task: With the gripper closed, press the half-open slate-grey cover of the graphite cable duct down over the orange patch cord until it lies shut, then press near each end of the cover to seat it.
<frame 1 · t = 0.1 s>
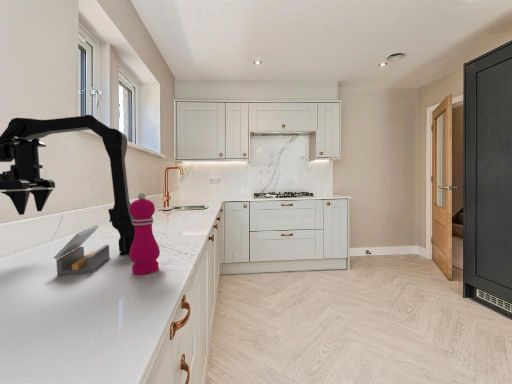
hand: (30, 212, 84), 15 cm above the table, fingers open, 9 cm apart
cable duct: (86, 265, 77), on the table
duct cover: (78, 240, 76), point 7 cm above the table, hinge at 45.0°
pepper mill: (145, 271, 70), on the table
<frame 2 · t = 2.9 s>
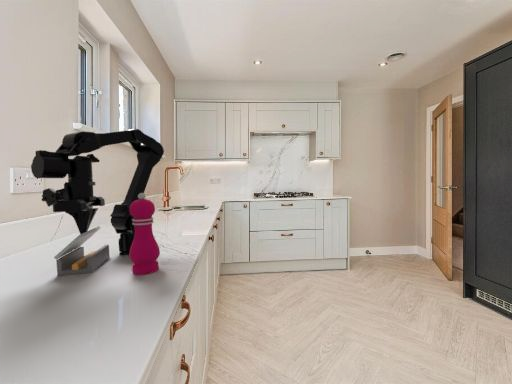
hand: (83, 234, 76), 9 cm above the table, fingers closed, pressing on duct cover
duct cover: (79, 240, 76), point 7 cm above the table, hinge at 40.6°, touching gripper
everything else where it was.
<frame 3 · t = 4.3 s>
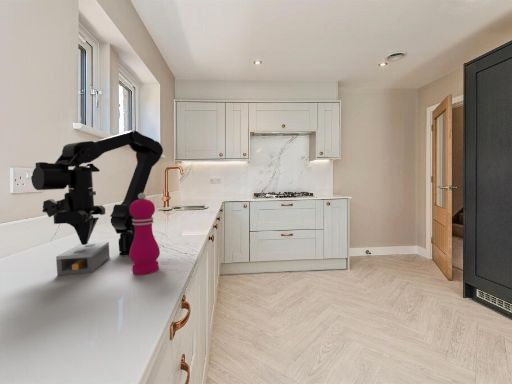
hand: (84, 244, 76), 6 cm above the table, fingers closed
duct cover: (85, 249, 76), point 5 cm above the table, hinge at -0.7°, touching cable duct
everything else where it was.
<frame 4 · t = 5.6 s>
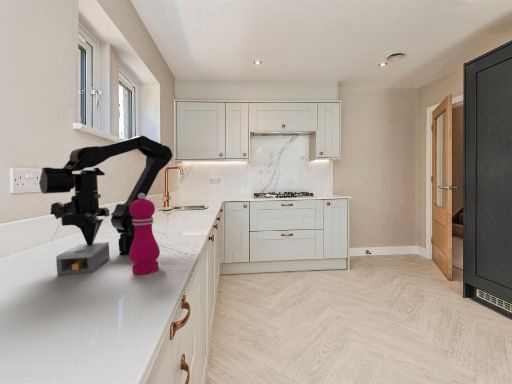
hand: (90, 245, 80), 5 cm above the table, fingers closed, pressing on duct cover
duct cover: (85, 249, 76), point 5 cm above the table, hinge at -0.7°, touching cable duct, gripper
everything else where it was.
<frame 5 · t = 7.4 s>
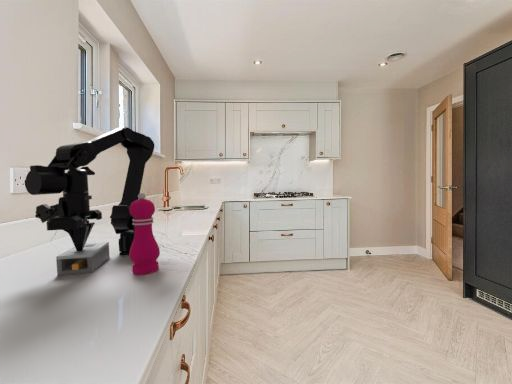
hand: (79, 251, 73), 5 cm above the table, fingers closed, pressing on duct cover
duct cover: (85, 249, 76), point 5 cm above the table, hinge at -0.7°, touching cable duct, gripper
everything else where it was.
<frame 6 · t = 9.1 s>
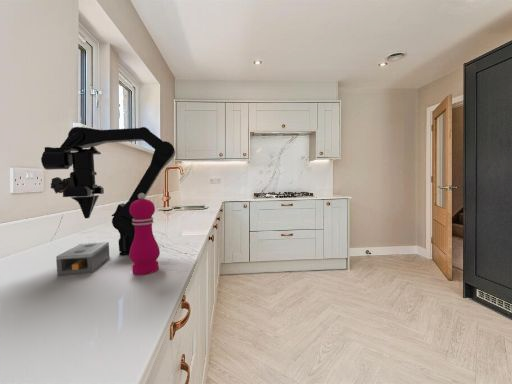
hand: (87, 218, 87), 12 cm above the table, fingers closed
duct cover: (85, 249, 76), point 5 cm above the table, hinge at -0.7°
everything else where it was.
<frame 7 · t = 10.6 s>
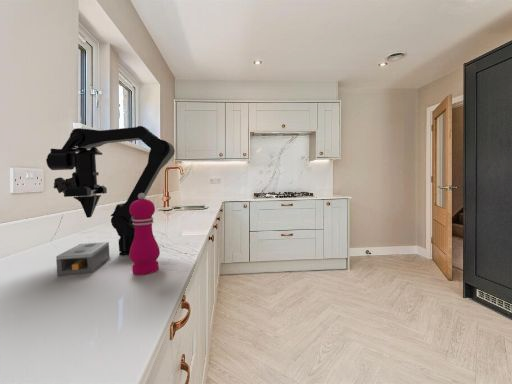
hand: (89, 217, 89), 12 cm above the table, fingers closed
nothing on the table moved.
at the end: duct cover at -1° (first picture: +45°); pepper mill moved 0.2 cm from its start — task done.
